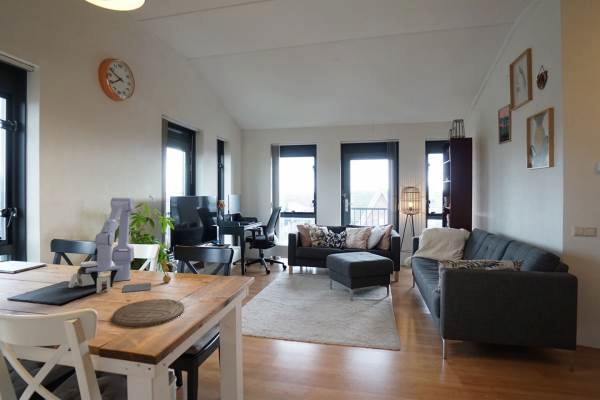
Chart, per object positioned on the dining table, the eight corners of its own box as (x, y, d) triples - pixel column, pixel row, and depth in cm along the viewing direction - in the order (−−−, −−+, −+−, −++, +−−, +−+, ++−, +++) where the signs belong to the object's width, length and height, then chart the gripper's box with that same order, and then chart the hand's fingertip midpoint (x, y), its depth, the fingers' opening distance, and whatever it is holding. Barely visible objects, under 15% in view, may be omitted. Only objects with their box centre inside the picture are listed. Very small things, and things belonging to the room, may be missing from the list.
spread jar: (102, 285, 157) (103, 262, 156) (78, 291, 146) (79, 266, 146) (87, 282, 162) (88, 259, 161) (63, 287, 151) (63, 263, 151)
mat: (124, 285, 157) (124, 284, 157) (151, 283, 162) (151, 282, 162) (122, 292, 146) (122, 291, 146) (150, 290, 151) (150, 289, 151)
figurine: (162, 284, 160) (162, 261, 160) (154, 283, 163) (155, 260, 163) (176, 281, 167) (176, 259, 167) (169, 279, 170) (169, 257, 170)
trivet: (131, 303, 134) (131, 298, 134) (191, 303, 136) (191, 299, 136) (98, 328, 109) (98, 322, 109) (171, 327, 111) (172, 322, 111)
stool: (98, 289, 149) (98, 275, 149) (111, 288, 152) (111, 274, 152) (96, 293, 145) (96, 278, 145) (109, 291, 147) (110, 277, 147)
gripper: (84, 260, 141) (84, 290, 141) (121, 258, 147) (120, 287, 148) (87, 257, 148) (87, 286, 148) (122, 256, 154) (122, 283, 154)
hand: (104, 286), depth 148 cm, fingers open, 5 cm apart
